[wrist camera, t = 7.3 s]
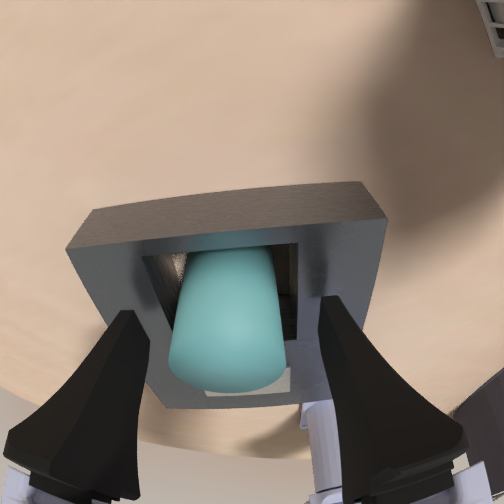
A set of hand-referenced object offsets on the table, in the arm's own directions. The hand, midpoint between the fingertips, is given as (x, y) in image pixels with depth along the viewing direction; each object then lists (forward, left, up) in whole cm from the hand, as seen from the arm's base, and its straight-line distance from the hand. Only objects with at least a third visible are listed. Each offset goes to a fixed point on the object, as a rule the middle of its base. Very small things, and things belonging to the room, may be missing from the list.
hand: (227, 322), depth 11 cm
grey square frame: (-4, 0, -4) cm, 5 cm away
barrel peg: (0, 0, -4) cm, 4 cm away
